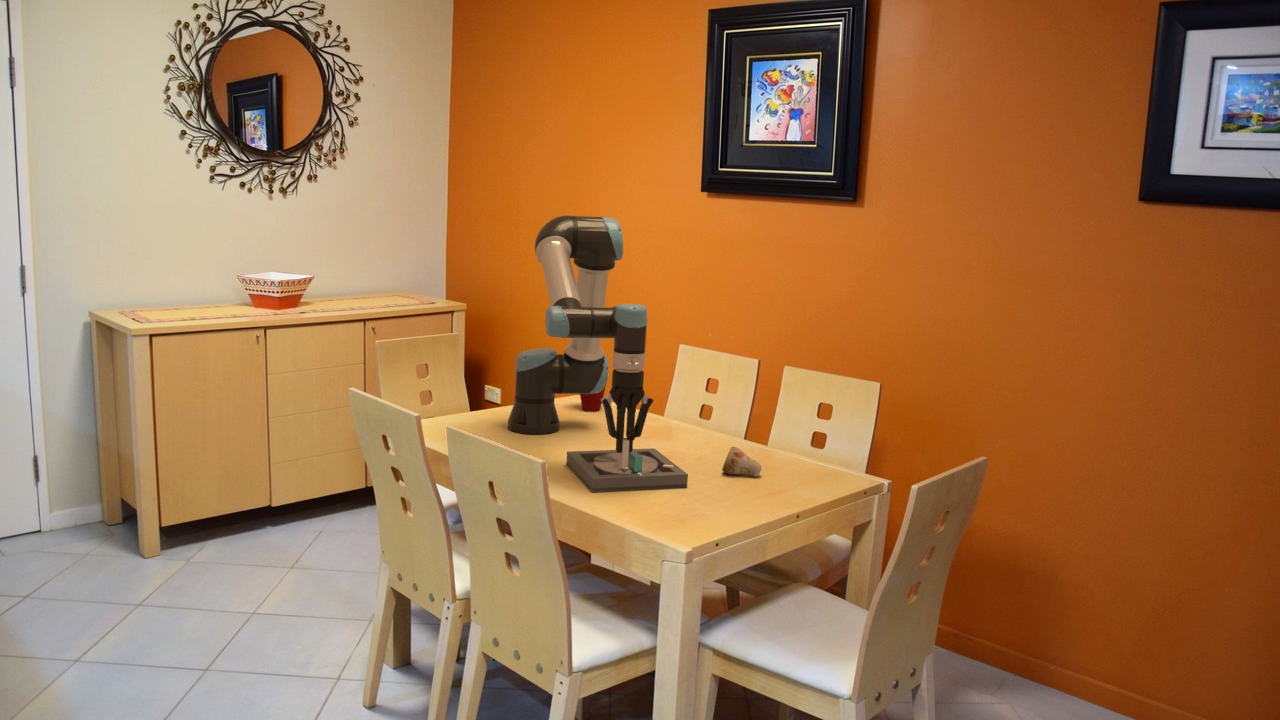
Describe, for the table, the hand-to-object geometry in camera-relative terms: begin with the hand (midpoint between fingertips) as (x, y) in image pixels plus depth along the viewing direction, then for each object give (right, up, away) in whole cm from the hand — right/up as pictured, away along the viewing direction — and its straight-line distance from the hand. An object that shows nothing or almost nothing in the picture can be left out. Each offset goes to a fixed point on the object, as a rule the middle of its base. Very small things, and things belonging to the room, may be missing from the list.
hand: (623, 465), depth 235 cm
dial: (+1, -3, +8) cm, 8 cm away
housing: (0, -4, +9) cm, 10 cm away
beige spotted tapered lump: (+30, -4, +16) cm, 35 cm away
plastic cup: (-12, +9, +80) cm, 81 cm away
